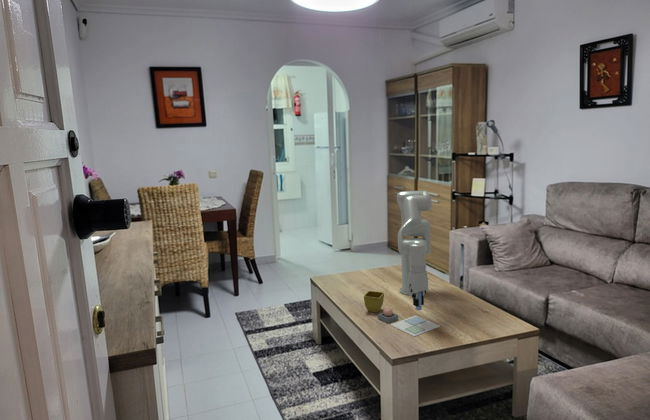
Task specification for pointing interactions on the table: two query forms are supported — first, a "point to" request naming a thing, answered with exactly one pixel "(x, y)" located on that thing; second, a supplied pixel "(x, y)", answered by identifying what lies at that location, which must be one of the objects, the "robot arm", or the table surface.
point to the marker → (419, 302)
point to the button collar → (388, 319)
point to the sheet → (415, 325)
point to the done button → (388, 312)
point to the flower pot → (373, 301)
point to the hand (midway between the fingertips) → (418, 304)
